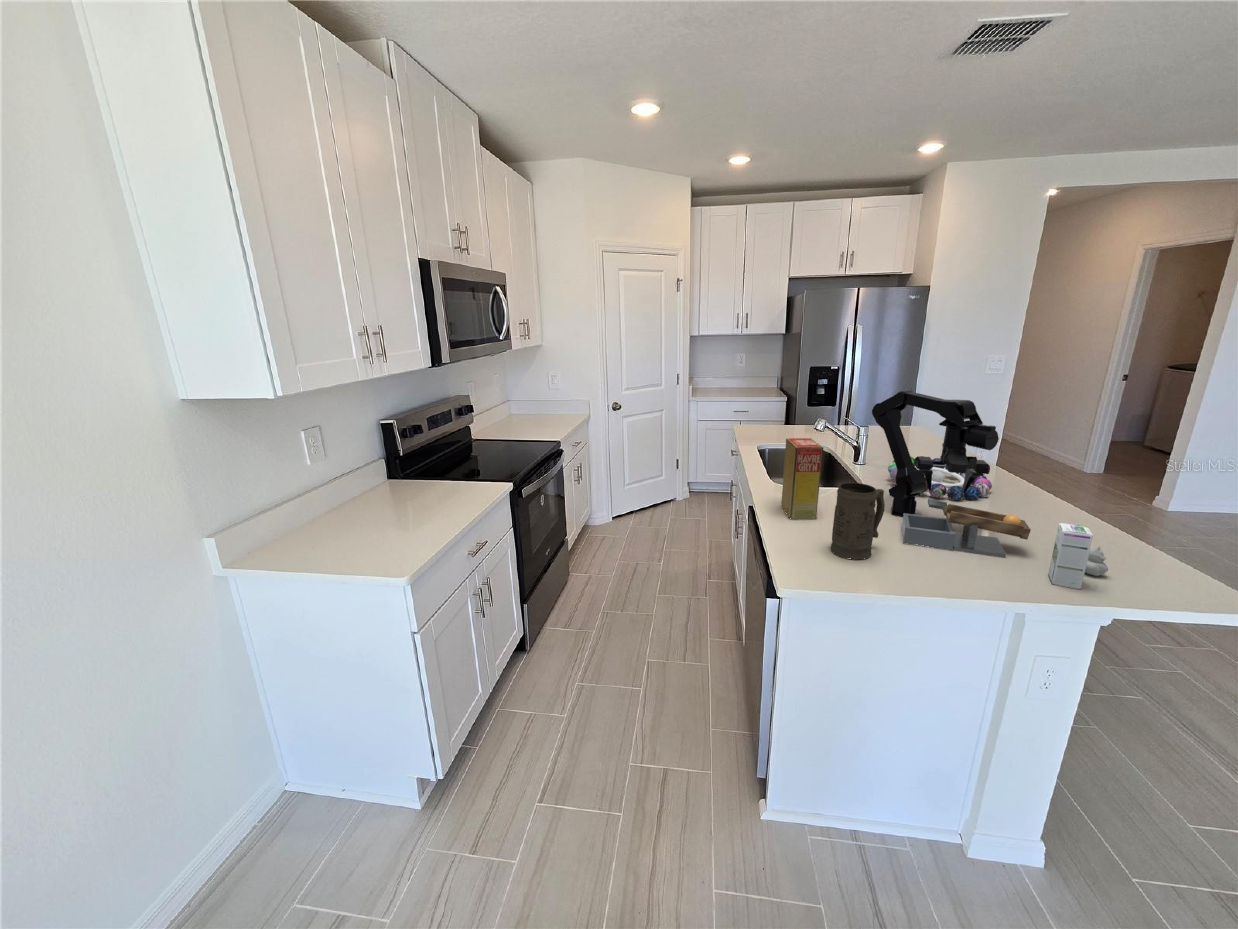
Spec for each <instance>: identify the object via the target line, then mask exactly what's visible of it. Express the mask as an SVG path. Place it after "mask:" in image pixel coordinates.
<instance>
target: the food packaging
mask: <svg viewBox="0 0 1238 929" xmlns="http://www.w3.org/2000/svg"><path fill="white" fill-rule="evenodd" d="M823 457H824V446H822V445H821V444H819V443H817V442H816V441H815V440H814V439H812V438H811V437H810V438H809V437H805V438H804V437H802V438H801V437H798V438H796V437H790V438H788V437H787V438H785V450H784V466H783V475H782V476H783V477H782V491H781V504H780V506H782V507H783V508H782V507H781V508H782V510H783V509H784V510H785V511H784V510H783V511H784V513H785V512H786V513H787V514H786V513H785V514H786V516H787V515H788V516H787V517H788V518H789V517H790V518H791V519H790V518H789V519H790V520H817V519H818V518H817V515H818V503H819V494H820V484H821V474H822V466H823Z"/></svg>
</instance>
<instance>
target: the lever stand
mask: <svg viewBox="0 0 1238 929" xmlns="http://www.w3.org/2000/svg"><path fill="white" fill-rule="evenodd" d="M962 526H963V527H962V532H956V531H954V532H955V540H954V546H953V551H954V550H955V551H956V552H961V551H964V552H963V553H968V552H969V553H970V554H976V555H984V556H989V557H991V556H992V557H998V558H1002V559H1003V558H1005V559H1006V558H1007V554H1006V552H1005V549H1004V548H1003V546H1002V544H1001V542H1000V540H999V538H998V537H995V536H988V535H987V536H986V535H979V534H978V530H979V529H978V524H971V525H970V527H969V526H964V525H962ZM969 553H968V554H969Z"/></svg>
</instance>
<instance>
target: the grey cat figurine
mask: <svg viewBox="0 0 1238 929" xmlns="http://www.w3.org/2000/svg"><path fill="white" fill-rule="evenodd" d="M1105 560H1107V557H1106V556H1105V555H1104V552H1103V550H1102V549H1101V545H1099V546H1098V547H1095V548H1092V549H1090V551H1089V556H1088V560H1087V565H1086V569H1085V574H1087V575H1090V576H1095V577H1097V576H1098V577H1099V576H1102V575H1105V574H1106V573H1107V572H1108V571H1109V567H1108V565H1107V564H1106V563H1105Z"/></svg>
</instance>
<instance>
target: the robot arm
mask: <svg viewBox="0 0 1238 929" xmlns="http://www.w3.org/2000/svg"><path fill="white" fill-rule="evenodd" d="M908 406H911V407H915V408H919V409H923V410H926V411H930V412H935V413H936V414H938V415H940V417H942V418H943V421H940V422H939V423H938V425H939V426H941V427H945V430H944V438H943V442H942V446H941V447H942V449H941V455H940V457H939V458H940V459H941V460H940V461H934V460H933V459H932V458H931V457H930V456H924V457H921V456H922V455H921V456H919V455H918V456H916V457H915V458H914V459H915V461H914V465H915V467H914V465H913V463H912V460H911V457H912V456H911V454H910V451H909V449H908V446H907V443H906V440H905V437H904V434H903V431H902V429H901V420H902V411H903V410H906V408H907V407H908ZM871 414H872V417H873V418H874V421H875V423H876V424H877V425H878V426H879V427H880V428H881V429H883V432H884V434H885V437H886V441H887V443H888V446H889V450H890V452H891V455H892V458H893V461H895V464H896V467H897V474H896V481H895V483H896V485H894V486H892V487H890V488H889V489H888V494H889V497H892V504H891V507H890V509H891V510H890V514H891V515H893V516H900V517H903V513H906V514H914V515H916V511H917V503H918V502H917V500H916V497H919V496H920V495H921V494H922V493H921V492H922V491H924V489H925V487H926V482H927V486H928V490H927V491H929V490H931V483H932V473H933V472H934V471H932V470H931V469H932V468H933V467H945V468H946V467H947V470H948V471H949V472H951V473H954V472H958V473H959V474H960V473H966V475H965V479H964V484H963V486H962V488H963V493H965V492H966V491H967V489H968V488H969V486H972V484H971V483H972V482H973V481H974V480H975V479H976V478H977V477H979V476H983V475H990V471H991V465H989V463H987V461H985V460H984V459H978V458H977V456H972V455H971V456H970V455H969V456H967V448H966V446H968V447H973V448H977V449H981V450H986V451H991V450H993V449H995V447H997V445H998V442H999V439H1000V437H999V434H998V432H997V430H996V429H997V426H995V425H987V424H984V422H983V420H982V418H981V417H980V415H979V413H978V411H977V407H976V405H975V402H974V401H972V400H969V399H945V398H940V397H936V396H931V395H927V394H924V393H918V392H915V391H912V390H903V391H902V390H901V391H898V392H897V393H895V394H894V395H892V396H890V397H888V398H886V399H885V400H882V401H881V402H878V403H876V404H874V406H873V408H872V409H871ZM910 456H911V457H910ZM918 469H920V470H918Z"/></svg>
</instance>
